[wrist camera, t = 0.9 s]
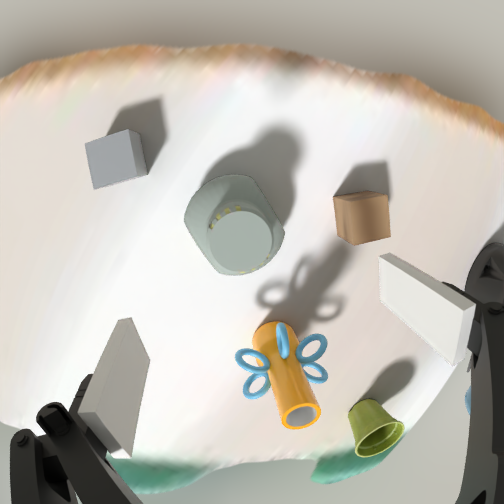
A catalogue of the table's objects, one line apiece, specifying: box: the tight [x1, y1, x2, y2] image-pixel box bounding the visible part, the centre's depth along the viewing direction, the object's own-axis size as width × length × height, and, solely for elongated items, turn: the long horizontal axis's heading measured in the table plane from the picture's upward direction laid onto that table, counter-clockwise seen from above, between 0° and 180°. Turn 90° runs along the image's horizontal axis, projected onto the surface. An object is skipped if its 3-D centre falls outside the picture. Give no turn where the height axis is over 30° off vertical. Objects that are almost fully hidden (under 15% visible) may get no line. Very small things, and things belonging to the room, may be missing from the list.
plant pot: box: [348, 399, 404, 457], centre depth 44 cm, size 9×9×9 cm
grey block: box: [85, 129, 148, 190], centre depth 29 cm, size 5×5×5 cm
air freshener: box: [184, 174, 285, 276], centre depth 30 cm, size 11×8×10 cm
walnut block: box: [333, 191, 391, 246], centre depth 34 cm, size 5×5×5 cm
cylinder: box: [235, 321, 328, 429], centre depth 33 cm, size 12×10×15 cm
